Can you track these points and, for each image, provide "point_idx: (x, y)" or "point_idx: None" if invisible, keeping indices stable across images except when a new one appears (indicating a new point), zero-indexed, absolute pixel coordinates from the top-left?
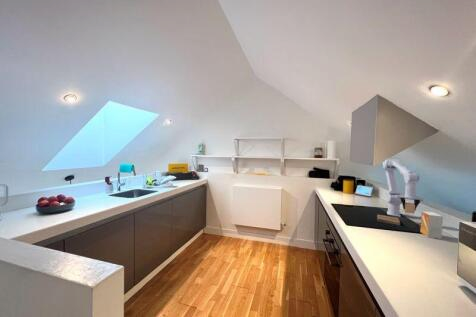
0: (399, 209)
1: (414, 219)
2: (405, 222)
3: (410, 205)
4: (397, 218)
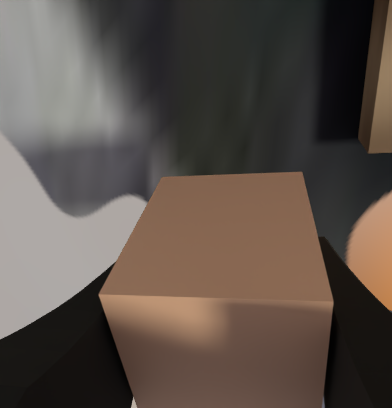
0: None
1: None
2: (275, 113)
3: (204, 274)
4: (385, 101)
